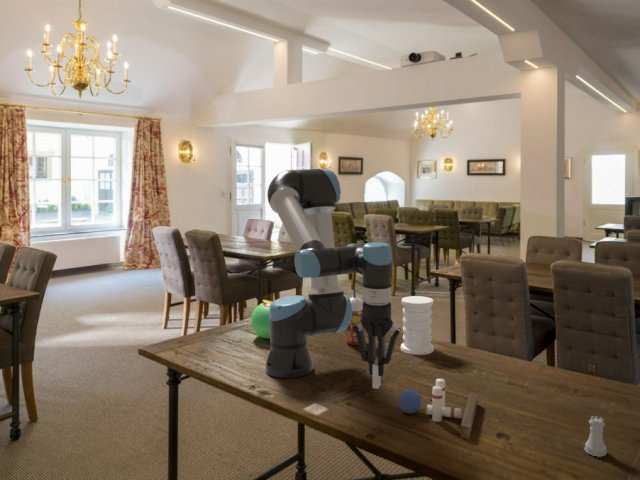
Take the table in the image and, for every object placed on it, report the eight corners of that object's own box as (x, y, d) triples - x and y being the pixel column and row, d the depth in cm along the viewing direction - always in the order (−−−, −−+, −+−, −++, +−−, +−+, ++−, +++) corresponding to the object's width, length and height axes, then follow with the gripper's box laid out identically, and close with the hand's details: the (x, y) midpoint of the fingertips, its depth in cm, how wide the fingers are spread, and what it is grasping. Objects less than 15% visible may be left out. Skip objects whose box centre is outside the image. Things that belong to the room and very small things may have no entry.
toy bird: (251, 331, 215) (250, 295, 213) (294, 329, 217) (293, 293, 215) (251, 346, 198) (249, 307, 196) (296, 343, 199) (295, 304, 197)
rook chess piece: (586, 445, 123) (587, 412, 122) (607, 451, 121) (609, 417, 119) (582, 454, 119) (584, 420, 118) (605, 460, 117) (607, 425, 116)
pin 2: (431, 421, 136) (431, 389, 135) (433, 416, 139) (433, 385, 138) (441, 422, 135) (441, 390, 134) (442, 418, 138) (443, 386, 137)
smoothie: (342, 339, 202) (341, 287, 200) (364, 338, 203) (363, 287, 200) (345, 347, 194) (344, 292, 191) (368, 346, 195) (367, 292, 192)
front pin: (426, 406, 139) (460, 410, 136) (428, 403, 142) (461, 407, 138) (426, 415, 139) (460, 420, 136) (428, 412, 142) (461, 416, 139)
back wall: (460, 437, 128) (460, 425, 127) (469, 403, 146) (469, 392, 146) (469, 439, 127) (469, 427, 127) (477, 404, 145) (477, 393, 145)
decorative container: (434, 344, 194) (434, 296, 192) (433, 355, 183) (433, 304, 181) (401, 343, 197) (401, 295, 195) (399, 353, 186) (399, 303, 183)
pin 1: (434, 412, 141) (434, 381, 140) (436, 408, 143) (436, 378, 142) (444, 414, 140) (444, 382, 139) (445, 410, 142) (446, 379, 141)
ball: (422, 405, 137) (410, 422, 139) (427, 395, 142) (416, 411, 144) (402, 390, 138) (391, 407, 140) (408, 381, 144) (397, 397, 146)
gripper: (348, 303, 140) (349, 388, 144) (398, 307, 136) (397, 395, 139) (357, 296, 147) (357, 377, 151) (404, 300, 143) (403, 384, 146)
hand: (376, 386), depth 145 cm, fingers closed
